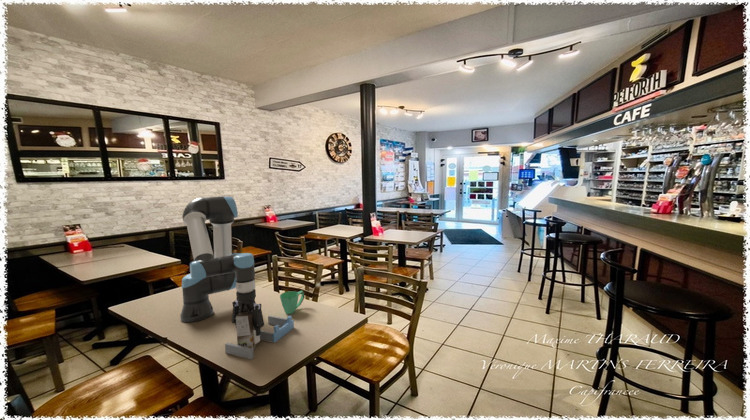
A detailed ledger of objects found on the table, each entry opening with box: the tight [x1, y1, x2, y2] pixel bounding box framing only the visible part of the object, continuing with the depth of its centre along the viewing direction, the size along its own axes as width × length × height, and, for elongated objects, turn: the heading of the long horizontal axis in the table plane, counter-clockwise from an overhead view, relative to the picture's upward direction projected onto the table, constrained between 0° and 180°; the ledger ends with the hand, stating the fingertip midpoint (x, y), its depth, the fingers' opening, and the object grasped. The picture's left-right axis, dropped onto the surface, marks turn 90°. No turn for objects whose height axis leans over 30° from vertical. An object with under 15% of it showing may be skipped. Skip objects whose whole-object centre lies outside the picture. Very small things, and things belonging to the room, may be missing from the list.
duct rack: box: [224, 315, 295, 360], centre depth 130 cm, size 15×27×7 cm, turn 160°
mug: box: [279, 290, 305, 315], centre depth 158 cm, size 15×10×10 cm
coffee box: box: [235, 310, 259, 351], centre depth 124 cm, size 9×6×16 cm
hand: (248, 340), depth 124 cm, fingers closed on coffee box, 8 cm apart
